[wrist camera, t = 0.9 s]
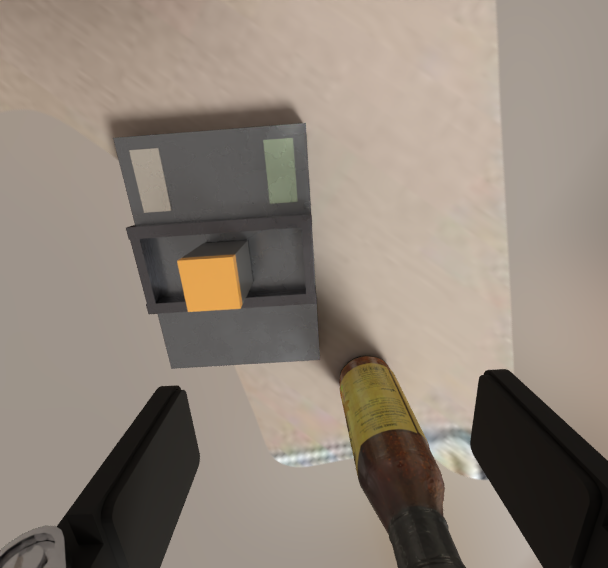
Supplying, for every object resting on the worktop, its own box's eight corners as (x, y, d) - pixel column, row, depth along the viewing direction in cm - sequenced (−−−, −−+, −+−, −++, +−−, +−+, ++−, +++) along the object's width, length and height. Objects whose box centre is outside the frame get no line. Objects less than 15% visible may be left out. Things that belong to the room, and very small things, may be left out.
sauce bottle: (326, 379, 35) (353, 617, 16) (364, 342, 33) (442, 558, 14) (368, 408, 36) (437, 659, 17) (406, 374, 35) (527, 610, 16)
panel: (126, 140, 26) (101, 135, 23) (305, 126, 26) (305, 119, 23) (178, 357, 34) (165, 377, 30) (319, 349, 33) (320, 368, 30)
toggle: (203, 243, 27) (176, 260, 22) (247, 240, 27) (232, 257, 22) (211, 285, 29) (188, 312, 23) (253, 282, 28) (240, 308, 23)
